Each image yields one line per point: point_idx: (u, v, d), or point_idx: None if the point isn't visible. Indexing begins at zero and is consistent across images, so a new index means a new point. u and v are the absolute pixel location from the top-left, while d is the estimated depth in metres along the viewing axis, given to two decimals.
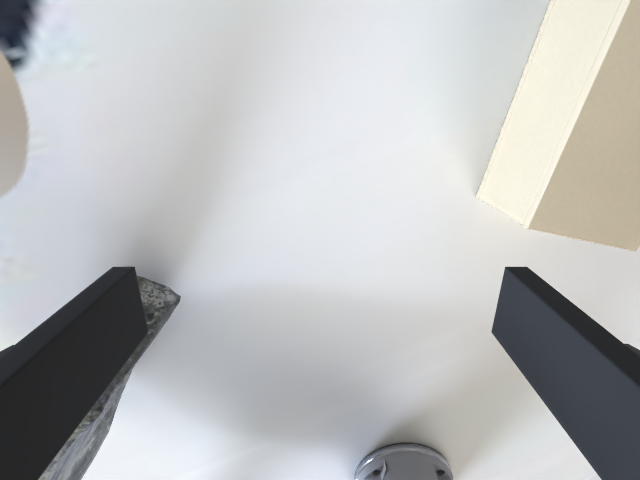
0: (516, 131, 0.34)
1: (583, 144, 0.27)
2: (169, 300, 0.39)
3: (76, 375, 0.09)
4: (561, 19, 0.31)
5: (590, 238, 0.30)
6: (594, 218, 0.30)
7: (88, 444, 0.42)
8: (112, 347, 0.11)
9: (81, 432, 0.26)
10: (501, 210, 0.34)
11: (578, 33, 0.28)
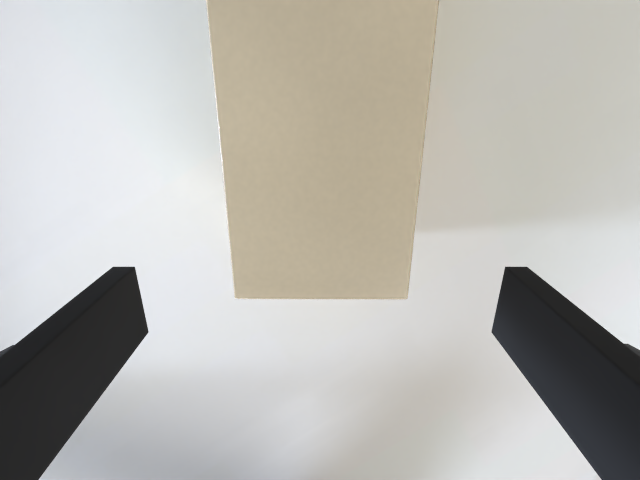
0: None
1: (249, 173, 0.18)
2: None
3: (76, 375, 0.09)
4: None
5: (331, 295, 0.21)
6: (322, 268, 0.20)
7: None
8: (112, 347, 0.11)
9: None
10: None
11: None
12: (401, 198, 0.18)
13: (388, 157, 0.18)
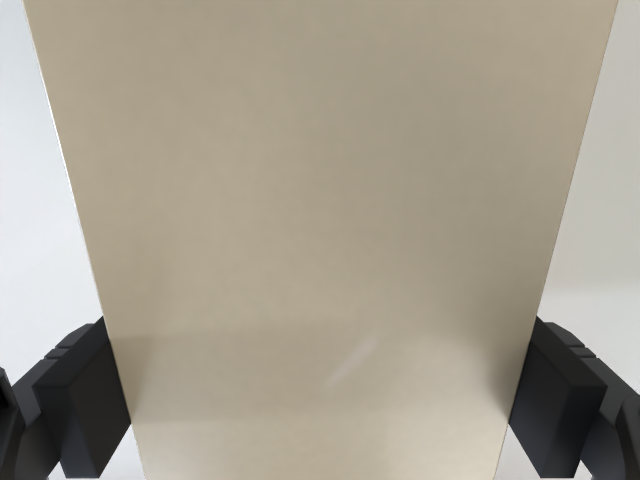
0: None
1: (151, 267, 0.08)
2: None
3: None
4: None
5: None
6: (321, 444, 0.10)
7: None
8: None
9: None
10: None
11: None
12: (499, 318, 0.08)
13: (478, 233, 0.07)
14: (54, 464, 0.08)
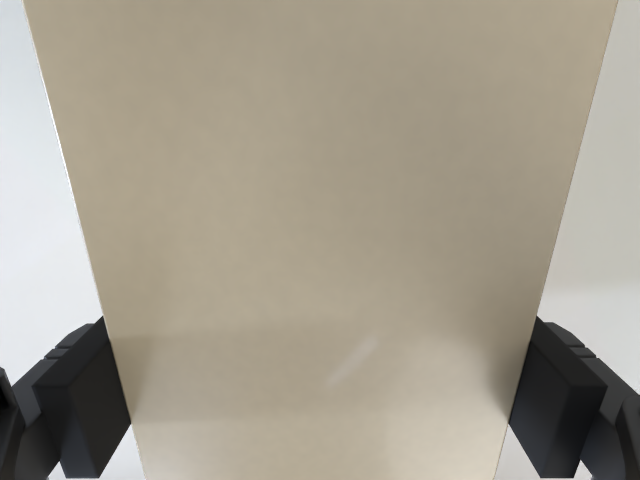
0: None
1: (151, 266, 0.08)
2: None
3: None
4: None
5: None
6: (321, 444, 0.10)
7: None
8: None
9: None
10: None
11: None
12: (499, 318, 0.08)
13: (478, 233, 0.07)
14: (54, 464, 0.08)
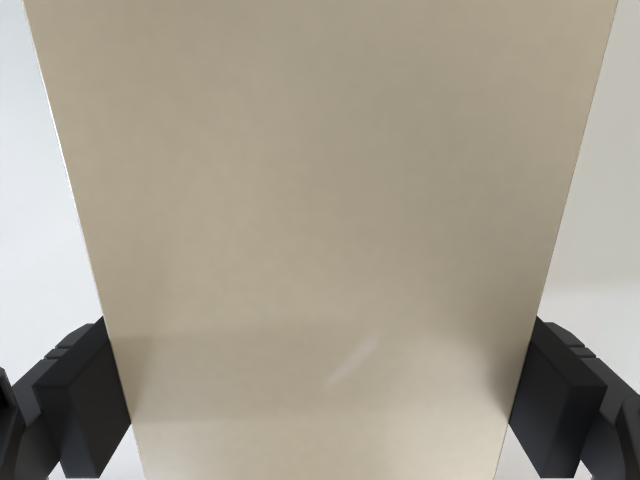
0: None
1: (151, 266, 0.08)
2: None
3: None
4: None
5: None
6: (321, 444, 0.10)
7: None
8: None
9: None
10: None
11: None
12: (499, 318, 0.08)
13: (478, 233, 0.07)
14: (54, 464, 0.08)
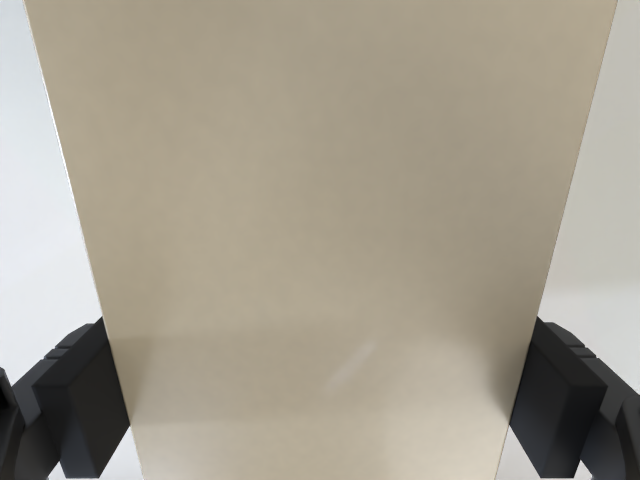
0: None
1: (151, 265, 0.08)
2: None
3: None
4: None
5: None
6: (321, 444, 0.10)
7: None
8: None
9: None
10: None
11: None
12: (500, 317, 0.08)
13: (478, 231, 0.07)
14: (54, 464, 0.08)
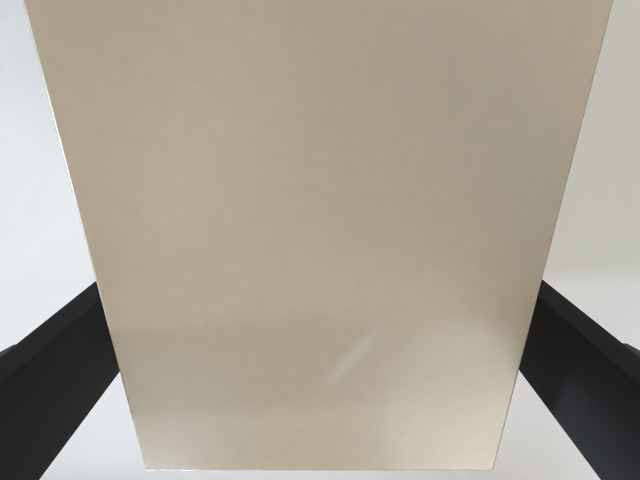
0: None
1: (145, 233, 0.08)
2: None
3: (77, 375, 0.09)
4: None
5: (340, 464, 0.10)
6: (321, 419, 0.10)
7: None
8: (113, 347, 0.11)
9: None
10: None
11: None
12: (502, 286, 0.08)
13: (481, 196, 0.07)
14: None
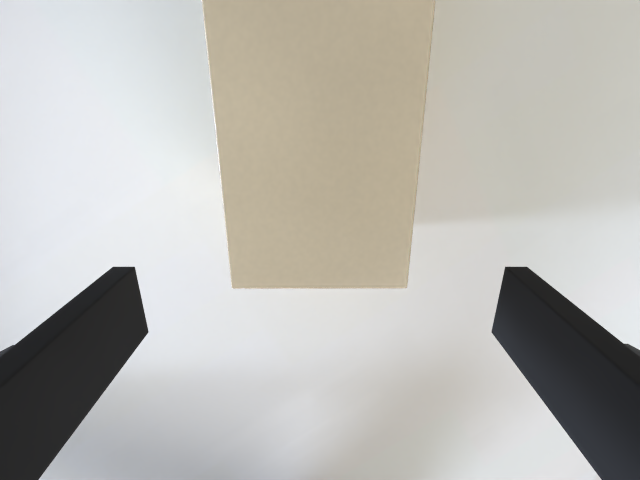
0: None
1: (245, 159, 0.18)
2: None
3: (76, 375, 0.09)
4: None
5: (330, 284, 0.20)
6: (320, 256, 0.20)
7: None
8: (112, 347, 0.11)
9: None
10: None
11: None
12: (400, 184, 0.18)
13: (386, 142, 0.17)
14: None
